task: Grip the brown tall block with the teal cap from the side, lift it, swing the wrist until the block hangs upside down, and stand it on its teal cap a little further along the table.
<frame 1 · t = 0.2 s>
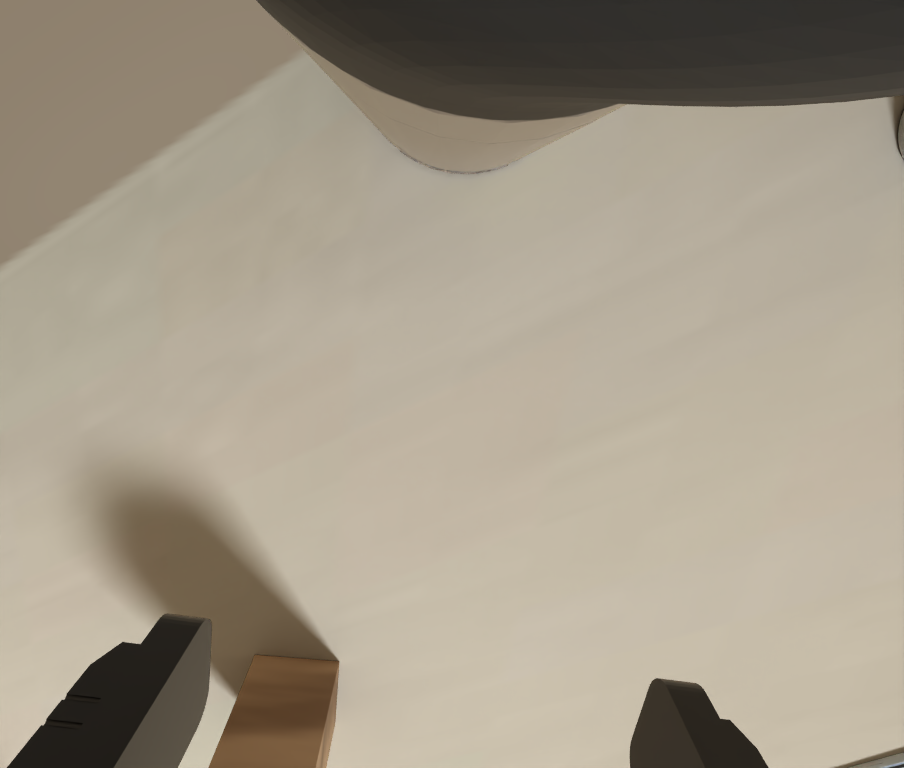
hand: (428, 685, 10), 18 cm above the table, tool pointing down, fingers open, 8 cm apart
brown tall block: (296, 689, 33), on the table
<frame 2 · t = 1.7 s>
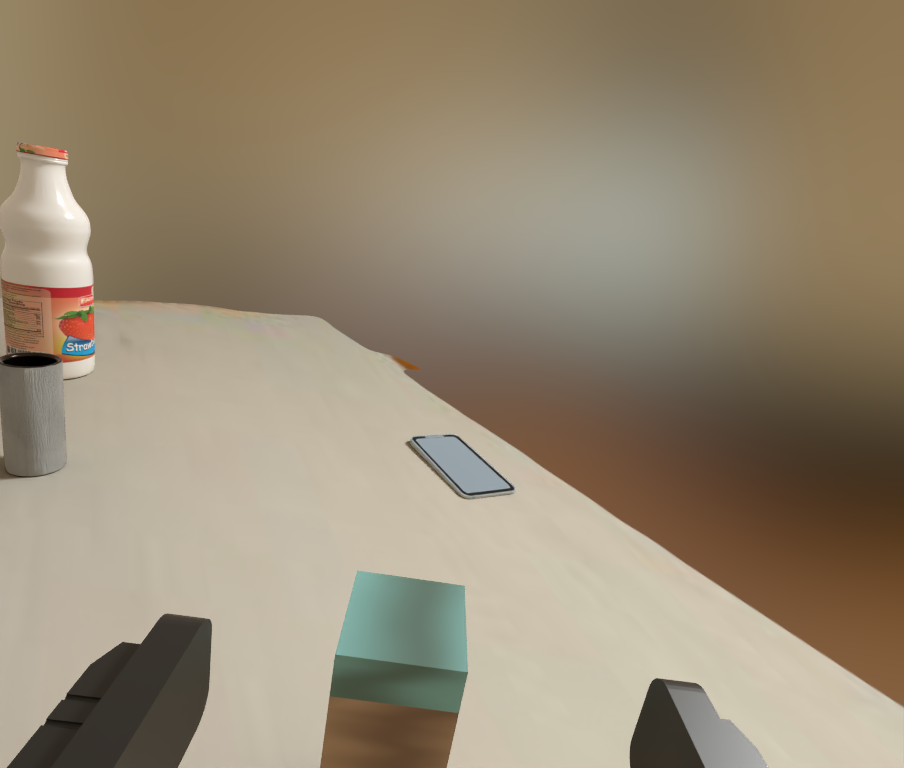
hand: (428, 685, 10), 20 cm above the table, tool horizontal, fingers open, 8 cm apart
smartphone: (458, 469, 66), on the table
planter: (36, 467, 50), on the table
white strawberry milk bottle: (53, 371, 72), on the table
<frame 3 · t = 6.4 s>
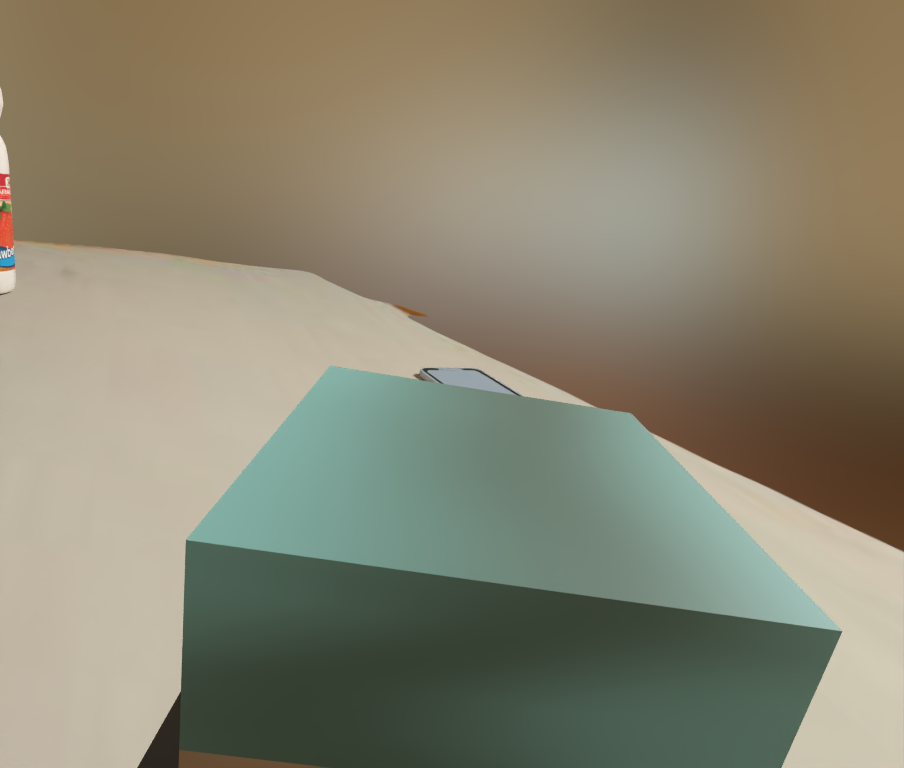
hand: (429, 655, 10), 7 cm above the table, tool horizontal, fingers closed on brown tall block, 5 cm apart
smartphone: (485, 404, 50), on the table
when the fingers open (7 cm above the table, at t = 15.6 s): brown tall block drops 1 cm, point 12 cm above the table.
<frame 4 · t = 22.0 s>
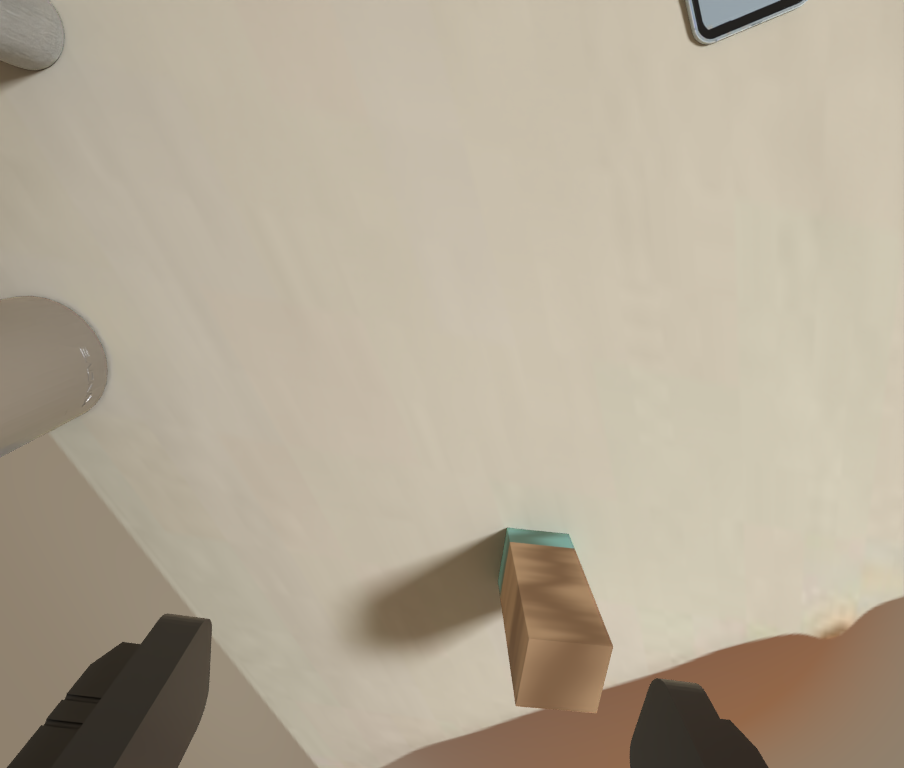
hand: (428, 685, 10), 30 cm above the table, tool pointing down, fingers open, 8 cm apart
brown tall block: (563, 676, 32), point 12 cm above the table, tilted 180°
planter: (30, 30, 33), on the table
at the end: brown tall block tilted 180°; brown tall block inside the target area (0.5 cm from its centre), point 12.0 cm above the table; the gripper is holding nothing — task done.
